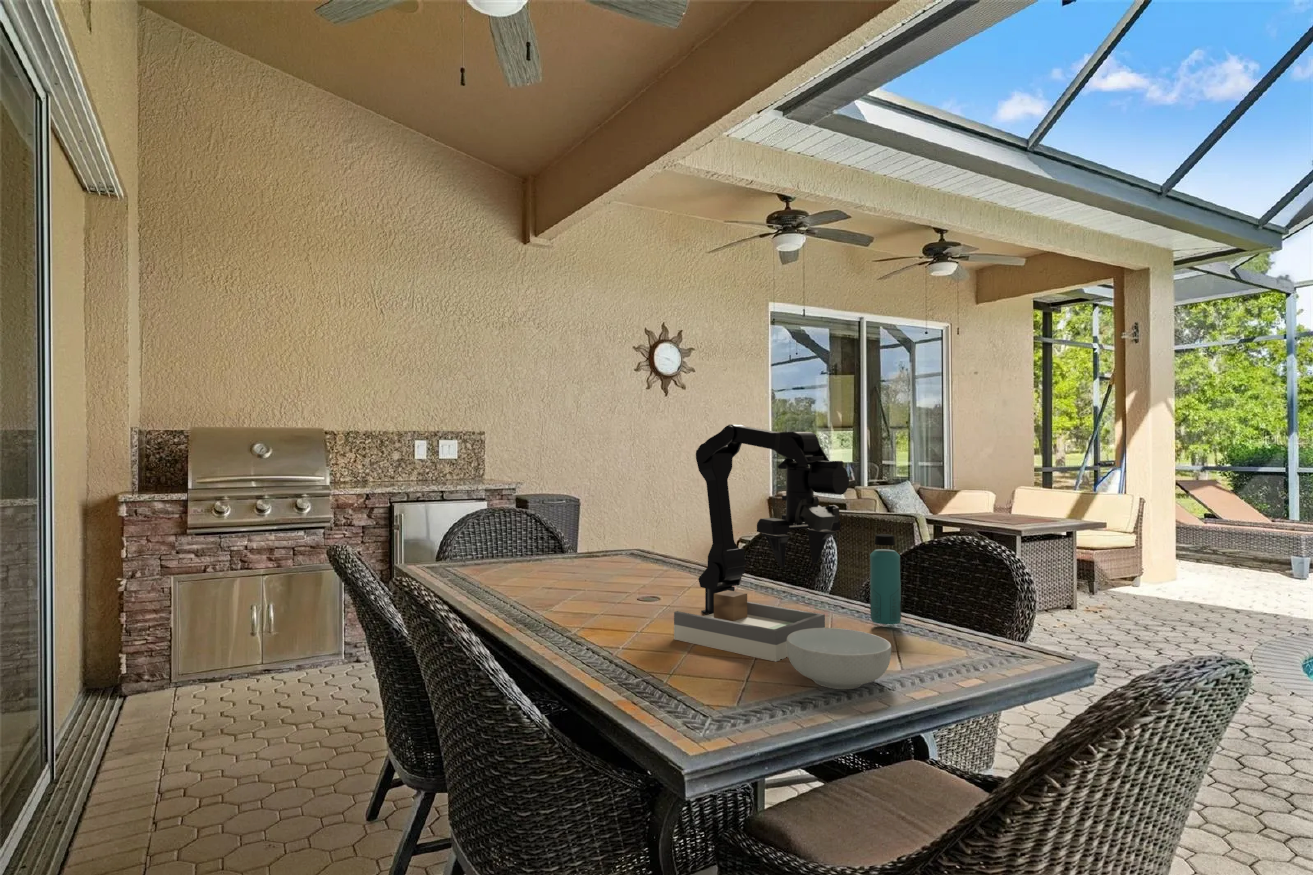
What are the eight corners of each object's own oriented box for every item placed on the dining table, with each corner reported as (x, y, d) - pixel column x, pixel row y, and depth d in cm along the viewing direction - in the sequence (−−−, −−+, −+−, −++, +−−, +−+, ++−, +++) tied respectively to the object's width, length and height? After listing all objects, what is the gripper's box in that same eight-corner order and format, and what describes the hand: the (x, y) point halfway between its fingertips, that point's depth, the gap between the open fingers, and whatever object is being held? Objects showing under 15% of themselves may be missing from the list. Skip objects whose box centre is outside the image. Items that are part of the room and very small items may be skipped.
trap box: (674, 639, 154) (674, 611, 154) (726, 623, 168) (726, 598, 168) (775, 661, 139) (775, 631, 139) (824, 642, 152) (824, 614, 152)
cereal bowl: (815, 703, 117) (815, 656, 117) (770, 671, 133) (770, 630, 133) (912, 693, 121) (912, 648, 121) (857, 664, 137) (857, 624, 137)
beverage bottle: (905, 631, 161) (905, 536, 161) (873, 631, 161) (873, 536, 161) (896, 624, 167) (896, 532, 167) (865, 624, 167) (865, 532, 167)
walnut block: (713, 617, 160) (713, 593, 160) (727, 613, 164) (727, 590, 164) (733, 621, 157) (733, 596, 157) (747, 617, 161) (747, 593, 161)
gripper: (791, 496, 149) (790, 576, 149) (860, 493, 159) (858, 568, 159) (755, 491, 159) (754, 566, 159) (822, 489, 168) (821, 559, 169)
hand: (798, 565), depth 161 cm, fingers open, 9 cm apart
